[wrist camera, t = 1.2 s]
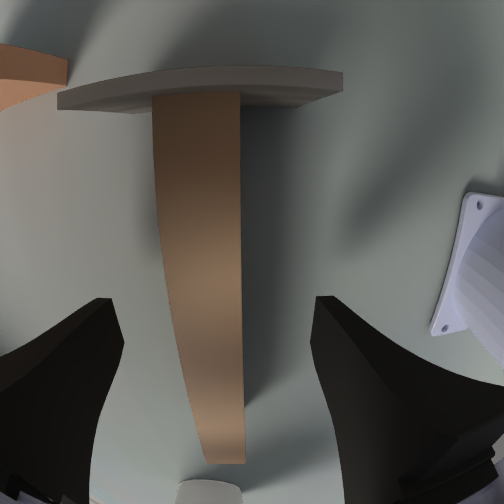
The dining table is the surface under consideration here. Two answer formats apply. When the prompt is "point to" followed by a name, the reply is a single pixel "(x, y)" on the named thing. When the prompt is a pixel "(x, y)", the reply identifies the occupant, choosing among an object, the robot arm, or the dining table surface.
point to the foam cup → (207, 492)
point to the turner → (204, 215)
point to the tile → (28, 74)
